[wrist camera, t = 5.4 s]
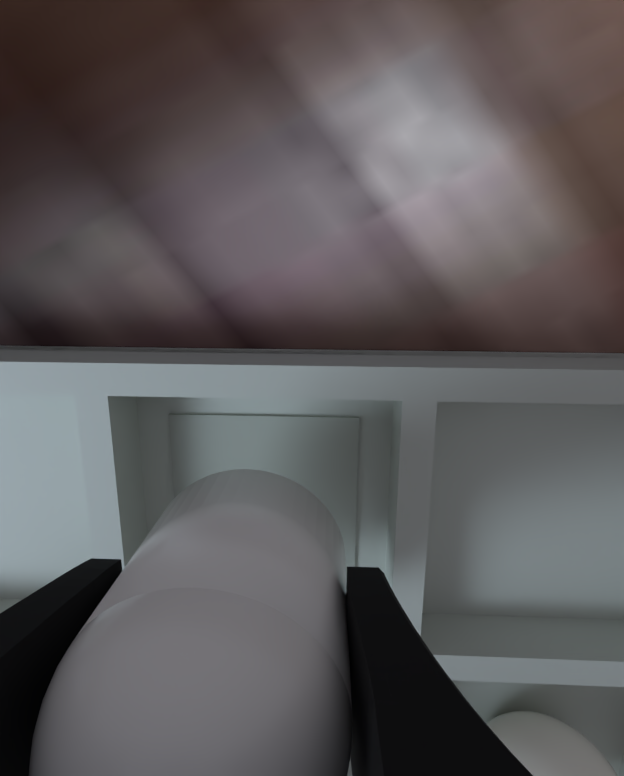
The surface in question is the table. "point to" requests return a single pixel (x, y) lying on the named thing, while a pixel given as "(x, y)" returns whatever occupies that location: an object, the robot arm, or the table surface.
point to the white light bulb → (212, 646)
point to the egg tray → (358, 490)
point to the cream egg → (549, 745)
